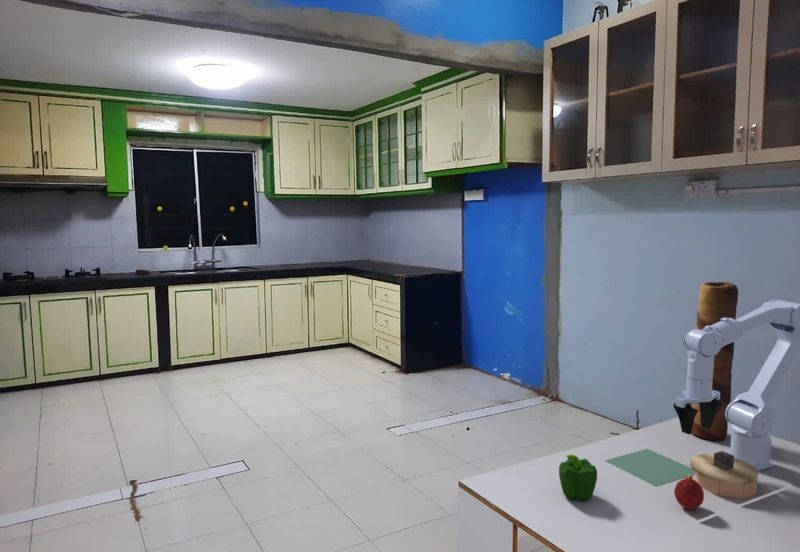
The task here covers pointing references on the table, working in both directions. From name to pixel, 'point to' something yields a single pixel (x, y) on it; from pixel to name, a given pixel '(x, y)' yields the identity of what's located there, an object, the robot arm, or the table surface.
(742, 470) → the lid
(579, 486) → the bell pepper
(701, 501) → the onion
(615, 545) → the table surface
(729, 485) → the bowl
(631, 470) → the mat
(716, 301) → the wafer roll
